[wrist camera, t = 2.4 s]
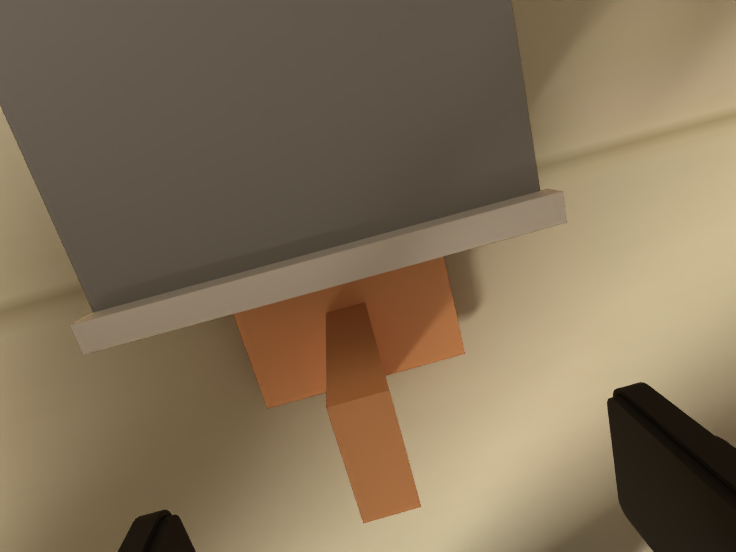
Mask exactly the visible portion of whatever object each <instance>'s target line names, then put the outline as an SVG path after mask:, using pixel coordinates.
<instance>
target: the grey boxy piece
mask: <svg viewBox="0 0 736 552" xmlns="http://www.w3.org/2000/svg"><path fill="white" fill-rule="evenodd" d="M0 106H1V108H2V110H3V113H4V115H5V117H6V119H7V121H8V124H9V126H10V128H11V130H12V132H13V135H14V137H15V139H16V141H17V144H18V146H19V148H20V150H21V152H22V155H23V157H24V159H25V161H26V164H27V166H28V168H29V170H30V172H31V175H32V177H33V179H34V181H35V184H36V186H37V188H38V190H39V192H40V195H41V197H42V199H43V201H44V204H45V206H46V208H47V210H48V212H49V215H50V217H51V219H52V221H53V224H54V226H55V228H56V230H57V232H58V235H59V237H60V239H61V241H62V244H63V246H64V248H65V250H66V252H67V255H68V257H69V259H70V261H71V264H72V266H73V268H74V270H75V272H76V275H77V277H78V279H79V281H80V284H81V286H82V288H83V290H84V292H85V295H86V297H87V299H88V301H89V304H90V306H91V308H92V310H93V313H90V314H86V315H85V316H83V317H82V318H80V319H79V320H77V321H76V322H74V323H73V324H71V325H70V328H71V330H72V332H73V334H74V336H75V339H76V341H77V343H78V345H79V347H80V349H81V351H82V353H83V355H86V354H89V353H93V352H97V351H100V350H104V349H107V348H111V347H115V346H118V345H122V344H126V343H129V342H133V341H137V340H140V339H144V338H148V337H151V336H155V335H159V334H162V333H166V332H170V331H173V330H177V329H180V328H184V327H188V326H191V325H195V324H199V323H202V322H206V321H210V320H213V319H217V318H221V317H224V316H228V315H232V314H235V313H239V312H242V311H246V310H250V309H253V308H257V307H261V306H264V305H268V304H272V303H275V302H279V301H283V300H286V299H290V298H294V297H297V296H301V295H305V294H308V293H312V292H315V291H319V290H323V289H326V288H330V287H334V286H337V285H341V284H345V283H348V282H352V281H356V280H359V279H363V278H367V277H370V276H374V275H378V274H381V273H385V272H388V271H392V270H396V269H399V268H403V267H407V266H410V265H414V264H418V263H421V262H425V261H429V260H432V259H436V258H440V257H443V256H447V255H450V254H454V253H458V252H461V251H465V250H469V249H472V248H476V247H480V246H483V245H487V244H491V243H494V242H498V241H502V240H505V239H509V238H513V237H516V236H520V235H523V234H527V233H531V232H534V231H538V230H542V229H545V228H549V227H553V226H556V225H560V224H564V223H567V220H566V213H565V205H564V198H563V191H558V190H551V189H545V190H541V191H540V186H539V180H538V173H537V166H536V160H535V153H534V147H533V140H532V134H531V127H530V120H529V114H528V107H527V101H526V94H525V87H524V81H523V74H522V68H521V61H520V55H519V48H518V41H517V35H516V28H515V22H514V15H513V8H512V2H511V0H0Z"/></svg>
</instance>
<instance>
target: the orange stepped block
mask: <svg viewBox="0 0 736 552" xmlns="http://www.w3.org/2000/svg"><path fill="white" fill-rule="evenodd" d="M233 315H234V318H235V320H236V323H237V326H238V329H239V331H240V334H241V337H242V340H243V342H244V345H245V348H246V351H247V354H248V356H249V359H250V362H251V365H252V367H253V370H254V373H255V376H256V378H257V381H258V384H259V387H260V390H261V392H262V395H263V398H264V401H265V403H266V406H267V409H268V408H271V407H275V406H279V405H282V404H286V403H289V402H293V401H297V400H300V399H304V398H307V397H311V396H315V395H318V394H322V393H325V392H326V408H327V411H328V414H329V418H330V421H331V424H332V427H333V430H334V433H335V436H336V439H337V442H338V446H339V449H340V452H341V455H342V458H343V461H344V464H345V467H346V471H347V474H348V477H349V480H350V483H351V486H352V489H353V492H354V496H355V499H356V502H357V505H358V508H359V511H360V514H361V517H362V520H363V523H366V522H369V521H373V520H376V519H380V518H383V517H387V516H391V515H394V514H398V513H401V512H405V511H408V510H412V509H415V508H419V507H421V504H420V501H419V497H418V493H417V490H416V486H415V482H414V479H413V475H412V471H411V468H410V464H409V460H408V457H407V453H406V449H405V446H404V442H403V438H402V435H401V431H400V427H399V424H398V420H397V417H396V413H395V409H394V406H393V402H392V398H391V395H390V391H389V387H388V384H387V380H386V375H390V374H393V373H397V372H401V371H404V370H408V369H411V368H415V367H419V366H422V365H426V364H429V363H433V362H437V361H440V360H444V359H447V358H451V357H454V356H458V355H462V354H465V352H464V347H463V343H462V338H461V333H460V329H459V324H458V320H457V315H456V310H455V306H454V301H453V297H452V292H451V288H450V283H449V278H448V274H447V269H446V265H445V260H444V256H443V257H440V258H436V259H432V260H429V261H425V262H421V263H418V264H414V265H410V266H407V267H403V268H399V269H396V270H392V271H388V272H385V273H381V274H378V275H374V276H370V277H367V278H363V279H359V280H356V281H352V282H348V283H345V284H341V285H337V286H334V287H330V288H326V289H323V290H319V291H315V292H312V293H308V294H305V295H301V296H297V297H294V298H290V299H286V300H283V301H279V302H275V303H272V304H268V305H264V306H261V307H257V308H253V309H250V310H246V311H242V312H239V313H235V314H233Z"/></svg>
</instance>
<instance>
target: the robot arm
mask: <svg viewBox="0 0 736 552" xmlns="http://www.w3.org/2000/svg"><path fill="white" fill-rule="evenodd" d="M607 407H608V415H609V424H610V432H611V440H612V449H613V457H614V465H615V474H616V482H617V490H618V498H619V502H620V505H621V508H622V510H623V512H624V514H625V515H626V517H627V518H628V520H629V521H630V522H631V524H632V525H633V526H634V527H635V529H636V530H637V531H638V532H639V534H640V535H641V536H642V538H643V539H644V540H645V541H646V543H647V544H648V545H649V546H650V548H651V549H652V550H653V552H736V448H734V447H733V446H732V445H730V444H729V443H728V442H726V441H725V440H723V439H721V438H720V437H717V436H714V435H713V434H712V433H710V432H709V431H708V430H706V429H705V428H704V427H702V426H701V425H700V424H699V423H697V422H696V421H695V420H693V419H692V418H691V417H689V416H688V415H687V414H685V413H684V412H683V411H682V410H680V409H679V408H678V407H676V406H675V405H674V404H672V403H671V402H670V401H668V400H667V399H666V398H665V397H663V396H662V395H661V394H659V393H658V392H657V391H655V390H654V389H653V388H651V387H650V386H649V385H647V384H646V383H642V382H640V383H636V384H633V385H629V386H625V387H621V388H618V389H615V390H614V393H613V397H612V398H609V399H608V401H607ZM118 552H196V551H195V549H194V547H193V545H192V543H191V541H190V539H189V536H188V534H187V532H186V530H185V528H184V526H183V524H182V521H181V519H180V518H179V516H177V515H171V513H170V512H169V511H168V510H162V511H158V512H154V513H150V514H147V515H143V516H139V517H138V518H136V519H135V521H134V522H133V524H132V526H131V528H130V530H129V531H128V533H127V535H126V537H125V539H124V541H123V543H122V545H121V547H120V549H119V550H118Z"/></svg>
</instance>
